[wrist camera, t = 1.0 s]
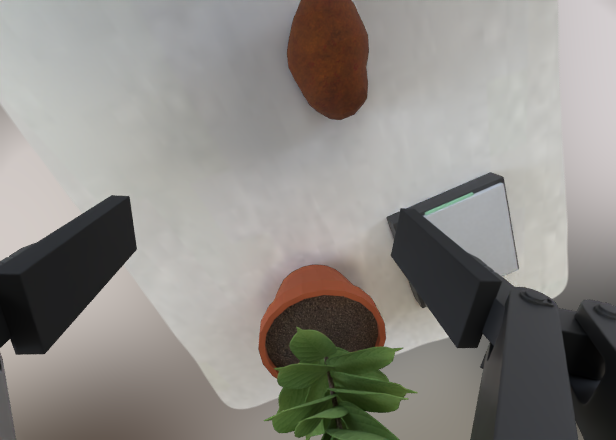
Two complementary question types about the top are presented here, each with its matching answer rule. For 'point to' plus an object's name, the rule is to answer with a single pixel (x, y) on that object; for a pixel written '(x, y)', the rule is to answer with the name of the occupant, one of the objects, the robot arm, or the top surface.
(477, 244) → the scale
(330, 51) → the potato
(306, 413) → the potted plant
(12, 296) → the robot arm
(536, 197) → the top surface
